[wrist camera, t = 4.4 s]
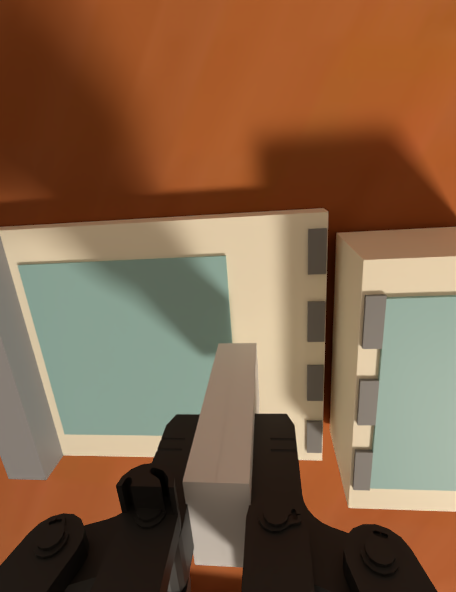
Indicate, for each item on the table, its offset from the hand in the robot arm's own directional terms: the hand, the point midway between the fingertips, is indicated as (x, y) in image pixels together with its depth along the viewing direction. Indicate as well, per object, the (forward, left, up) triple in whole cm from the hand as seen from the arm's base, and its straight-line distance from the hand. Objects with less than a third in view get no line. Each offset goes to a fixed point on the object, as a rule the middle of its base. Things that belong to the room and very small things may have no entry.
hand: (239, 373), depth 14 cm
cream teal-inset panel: (-4, 0, -3) cm, 5 cm away
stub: (+7, 0, -3) cm, 7 cm away
